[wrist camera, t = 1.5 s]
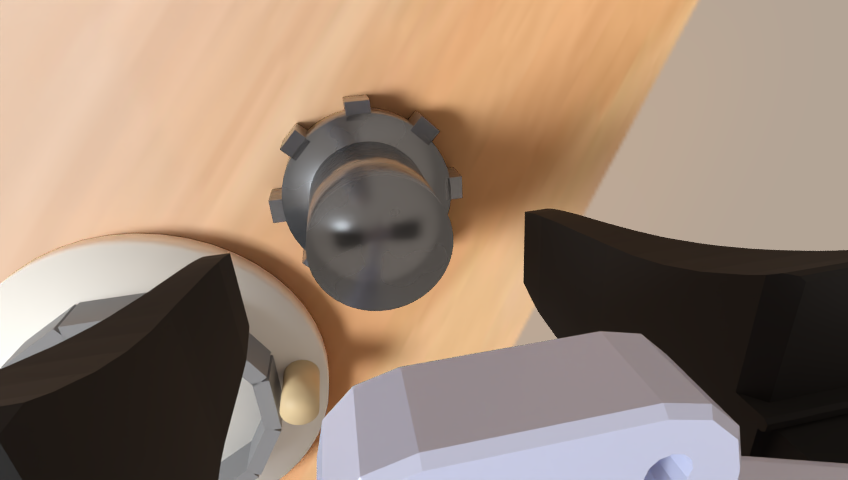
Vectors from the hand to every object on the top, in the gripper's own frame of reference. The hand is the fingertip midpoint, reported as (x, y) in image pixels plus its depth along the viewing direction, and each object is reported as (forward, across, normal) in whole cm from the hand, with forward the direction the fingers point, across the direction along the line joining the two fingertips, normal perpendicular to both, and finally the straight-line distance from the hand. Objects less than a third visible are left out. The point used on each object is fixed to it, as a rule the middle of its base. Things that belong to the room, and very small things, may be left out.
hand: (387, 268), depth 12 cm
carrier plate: (+6, +9, +7) cm, 13 cm away
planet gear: (+7, 0, 0) cm, 7 cm away
